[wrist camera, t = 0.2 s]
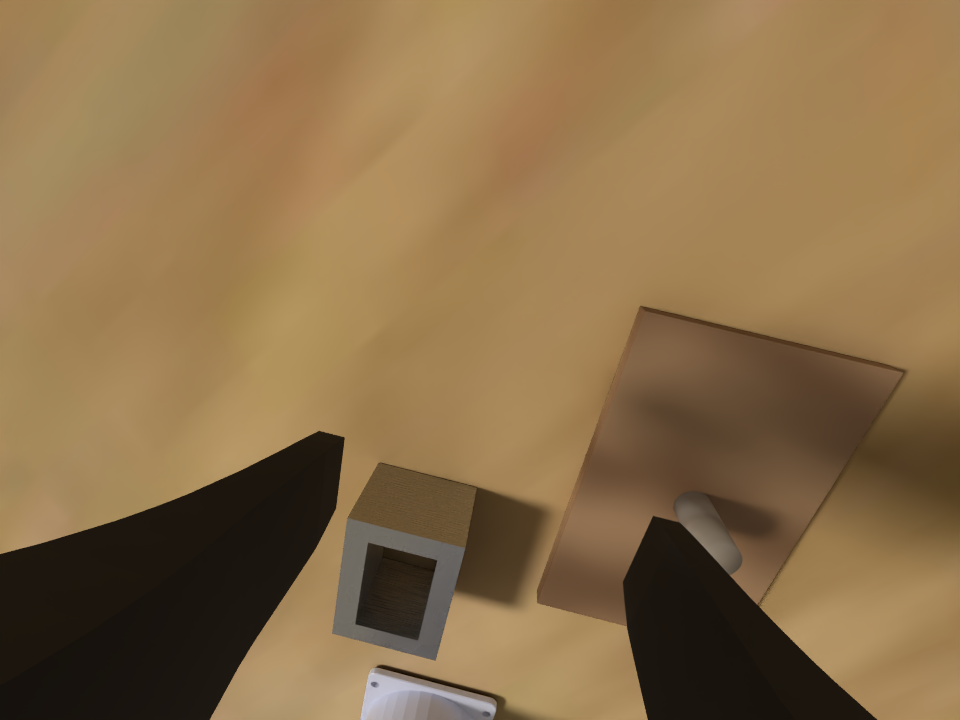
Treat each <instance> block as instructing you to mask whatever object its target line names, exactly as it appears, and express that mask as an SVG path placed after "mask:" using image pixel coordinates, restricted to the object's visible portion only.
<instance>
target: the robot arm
mask: <svg viewBox="0 0 960 720" xmlns="http://www.w3.org/2000/svg"><path fill="white" fill-rule="evenodd" d="M344 439H345V437H341V436H337V435H333V434H329V433H325V432H321V431H318V432H316V433H314V434H312V435H310V436H308V437H306V438H304V439H302V440H300V441H298V442H296V443H294V444H292V445H291V446H289V447H287V448H285V449H283V450H281V451H279V452H277V453H275V454H273V455H271V456H269V457H267V458H265V459H263V460H261V461H259V462H257V463H255V464H253V465H251V466H249V467H247V468H245V469H243V470H241V471H239V472H237V473H234V474H232V475H230V476H228V477H225V478H223V479H221V480H219V481H216V482H214V483H212V484H210V485H207V486H205V487H203V488H201V489H199V490H196V491H194V492H192V493H189V494H187V495H185V496H182V497H180V498H177V499H175V500H172V501H169V502H167V503H164V504H162V505H159V506H156V507H154V508H151V509H148V510H145V511H143V512H140V513H137V514H134V515H131V516H129V517H126V518H123V519H120V520H117V521H114V522H111V523H107V524H104V525H101V526H97V527H94V528H91V529H88V530H84V531H81V532H78V533H74V534H71V535H68V536H65V537H61V538H58V539H55V540H51V541H48V542H45V543H41V544H37V545H34V546H30V547H26V548H22V549H18V550H15V551H11V552H7V553H3V554H0V720H210V718H211V716H212V714H213V713H214V711H215V709H216V707H217V705H218V703H219V702H220V700H221V698H222V696H223V694H224V693H225V691H226V689H227V687H228V685H229V683H230V682H231V680H232V678H233V676H234V674H235V672H236V671H237V669H238V667H239V665H240V664H241V662H242V660H243V659H244V657H245V655H246V654H247V652H248V651H249V649H250V647H251V646H252V644H253V642H254V641H255V639H256V638H257V636H258V635H259V633H260V632H261V630H262V629H263V627H264V626H265V624H266V623H267V621H268V620H269V618H270V617H271V615H272V614H273V612H274V611H275V609H276V608H277V606H278V605H279V603H280V602H281V600H282V599H283V597H284V596H285V594H286V593H287V591H288V590H289V588H290V587H291V585H292V584H293V582H294V581H295V579H296V578H297V576H298V575H299V573H300V572H301V570H302V569H303V567H304V566H305V564H306V563H307V561H308V559H309V558H310V556H311V555H312V553H313V552H314V550H315V549H316V547H317V545H318V543H319V541H320V539H321V537H322V535H323V533H324V531H325V529H326V527H327V525H328V523H329V521H330V519H331V517H332V515H333V513H334V511H335V509H336V504H337V496H338V488H339V480H340V472H341V463H342V455H343V447H344ZM623 591H624V603H625V612H626V621H627V629H628V634H629V639H630V643H631V648H632V652H633V657H634V661H635V666H636V670H637V675H638V679H639V683H640V688H641V692H642V696H643V701H644V705H645V709H646V714H647V718H648V720H877V719H876V718H875V717H873V716H872V715H871V714H870V713H869V712H868V711H867V710H866V709H865V708H863V707H862V706H861V705H860V704H859V703H858V702H857V701H856V700H855V699H853V698H852V697H851V696H850V695H849V694H848V693H847V692H846V691H845V690H843V689H842V688H841V687H840V686H839V685H838V684H837V683H836V682H835V681H833V680H832V679H831V678H830V677H829V676H828V675H827V674H826V673H825V672H824V671H823V670H822V669H821V668H820V667H818V666H817V665H816V664H815V663H814V662H813V661H812V660H811V659H810V658H809V657H808V656H807V655H806V654H805V653H804V652H803V651H802V650H801V649H800V648H799V647H798V646H797V645H796V644H795V643H794V642H793V641H792V640H791V639H790V638H789V637H788V636H787V635H786V634H785V633H784V632H783V631H782V630H781V629H780V628H779V627H778V626H777V625H776V624H775V623H774V622H773V621H772V620H771V619H770V618H769V617H768V616H767V615H766V614H765V613H764V612H763V610H762V609H761V608H760V607H759V606H758V605H757V604H756V603H755V602H754V601H753V600H752V599H751V598H750V597H749V596H748V595H747V593H746V592H745V591H744V590H743V589H742V588H741V587H740V586H739V585H738V584H737V583H736V582H735V580H734V579H733V578H732V577H731V576H730V575H729V574H728V573H727V572H726V571H725V570H724V568H723V567H722V566H721V565H720V564H719V563H718V562H717V561H716V560H715V559H714V558H713V556H712V555H711V554H710V553H709V552H708V551H707V550H706V549H705V548H704V547H703V546H702V545H701V543H700V542H699V541H698V540H697V539H696V538H695V537H694V536H693V535H692V534H691V533H690V532H689V531H688V530H687V529H686V528H685V527H684V526H683V525H682V524H681V523H680V522H676V521H672V520H668V519H664V518H660V517H656V516H653V517H652V519H651V521H650V524H649V526H648V528H647V530H646V532H645V534H644V537H643V539H642V541H641V543H640V545H639V548H638V550H637V552H636V554H635V556H634V559H633V561H632V563H631V565H630V567H629V569H628V572H627V574H626V576H625V578H624V580H623ZM496 708H497V702H496V701H495V700H494V699H493V698H491V697H487V696H483V695H479V694H476V693H472V692H468V691H464V690H460V689H457V688H453V687H449V686H445V685H441V684H438V683H434V682H430V681H426V680H423V679H419V678H415V677H411V676H407V675H404V674H400V673H396V672H392V671H388V670H385V669H381V668H373V669H371V670H370V673H369V676H368V680H367V686H366V691H365V697H364V702H363V708H362V713H361V718H360V720H493V718H494V715H495V713H496Z"/></svg>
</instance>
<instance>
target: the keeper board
mask: <svg viewBox="0 0 960 720" xmlns="http://www.w3.org/2000/svg"><path fill="white" fill-rule="evenodd" d="M902 375H903V372H901V371H899V370H897V369H895V368H892V367H890V366H888V365H885V364H881V363H876V362H872V361H868V360H864V359H860V358H855V357H851V356H847V355H843V354H839V353H834V352H830V351H826V350H822V349H818V348H814V347H809V346H805V345H801V344H797V343H793V342H788V341H784V340H780V339H776V338H772V337H768V336H763V335H759V334H755V333H751V332H747V331H742V330H738V329H734V328H730V327H726V326H721V325H717V324H713V323H709V322H705V321H701V320H696V319H692V318H688V317H684V316H680V315H675V314H671V313H667V312H663V311H659V310H655V309H650V308H646V307H642V306H640V308H639V311H638V314H637V317H636V319H635V322H634V325H633V328H632V330H631V333H630V336H629V339H628V341H627V344H626V347H625V350H624V352H623V355H622V358H621V361H620V363H619V366H618V369H617V372H616V374H615V377H614V380H613V383H612V385H611V388H610V391H609V394H608V396H607V399H606V402H605V405H604V407H603V410H602V413H601V416H600V418H599V421H598V424H597V427H596V429H595V432H594V435H593V438H592V440H591V443H590V446H589V449H588V451H587V454H586V457H585V460H584V463H583V465H582V468H581V471H580V474H579V476H578V479H577V482H576V485H575V487H574V490H573V493H572V496H571V498H570V501H569V504H568V507H567V509H566V512H565V515H564V518H563V520H562V523H561V526H560V529H559V531H558V534H557V537H556V540H555V542H554V545H553V548H552V551H551V553H550V556H549V559H548V562H547V564H546V567H545V570H544V573H543V575H542V578H541V581H540V584H539V586H538V589H537V603H539V604H542V605H546V606H550V607H554V608H558V609H562V610H566V611H570V612H573V613H577V614H581V615H585V616H589V617H593V618H597V619H601V620H604V621H608V622H612V623H616V624H620V625H624V626H627V621H626V612H625V603H624V591H623V580H624V578H625V576H626V574H627V572H628V569H629V567H630V565H631V563H632V561H633V559H634V556H635V554H636V552H637V550H638V548H639V545H640V543H641V541H642V539H643V537H644V534H645V532H646V530H647V528H648V526H649V524H650V521H651V519H652V517H653V516H656V517H660V518H664V519H668V520H672V521H676V522H680V523H681V524H682V525H683V526H684V527H685V528H686V529H687V530H688V531H689V532H690V533H691V534H692V535H693V536H694V537H695V538H696V539H697V540H698V541H699V542H700V543H701V545H702V546H703V547H704V548H705V549H706V550H707V551H708V552H709V553H710V554H711V555H712V556H713V558H714V559H715V560H716V561H717V562H718V563H719V564H720V565H721V566H722V567H723V568H724V570H725V571H726V572H727V573H728V574H729V575H730V576H731V577H732V578H733V579H734V580H735V582H736V583H737V584H738V585H739V586H740V587H741V588H742V589H743V590H744V591H745V592H746V593H747V595H748V596H749V597H750V598H751V599H752V600H753V601H754V602H755V603H756V604H757V605H758V603H759V601H760V600H761V598H762V597H763V595H764V593H765V592H766V590H767V589H768V587H769V586H770V584H771V582H772V581H773V579H774V578H775V576H776V574H777V573H778V571H779V570H780V568H781V566H782V565H783V563H784V562H785V560H786V559H787V557H788V555H789V554H790V552H791V551H792V549H793V547H794V546H795V544H796V543H797V541H798V540H799V538H800V536H801V535H802V533H803V532H804V530H805V528H806V527H807V525H808V524H809V522H810V521H811V519H812V517H813V516H814V514H815V513H816V511H817V509H818V508H819V506H820V505H821V503H822V501H823V500H824V498H825V497H826V495H827V494H828V492H829V490H830V489H831V487H832V486H833V484H834V482H835V481H836V479H837V478H838V476H839V475H840V473H841V471H842V470H843V468H844V467H845V465H846V463H847V462H848V460H849V459H850V457H851V456H852V454H853V452H854V451H855V449H856V448H857V446H858V444H859V443H860V441H861V440H862V438H863V436H864V435H865V433H866V432H867V430H868V429H869V427H870V425H871V424H872V422H873V421H874V419H875V417H876V416H877V414H878V413H879V411H880V410H881V408H882V406H883V405H884V403H885V402H886V400H887V398H888V397H889V395H890V394H891V392H892V390H893V389H894V387H895V386H896V384H897V383H898V381H899V379H900V378H901V376H902Z"/></svg>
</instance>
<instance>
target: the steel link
mask: <svg viewBox="0 0 960 720" xmlns="http://www.w3.org/2000/svg"><path fill="white" fill-rule="evenodd" d="M476 490H477V487H473V486H469V485H465V484H461V483H457V482H453V481H449V480H445V479H441V478H437V477H433V476H429V475H426V474H422V473H418V472H414V471H410V470H406V469H402V468H398V467H394V466H390V465H386V464H382V463H378V465H377V467H376V469H375V470H374V472H373V474H372V476H371V477H370V479H369V481H368V483H367V484H366V486H365V488H364V490H363V491H362V493H361V495H360V497H359V498H358V500H357V502H356V504H355V505H354V507H353V509H352V511H351V513H350V514H349V516H348V518H347V525H346V532H345V540H344V548H343V555H342V563H341V570H340V578H339V586H338V593H337V601H336V609H335V616H334V624H333V632H332V634H336V635H340V636H344V637H348V638H351V639H355V640H359V641H363V642H367V643H370V644H374V645H378V646H382V647H386V648H389V649H393V650H397V651H401V652H405V653H408V654H412V655H416V656H420V657H424V658H427V659H431V660H435V661H436V657H437V653H438V649H439V646H440V642H441V638H442V634H443V631H444V627H445V623H446V619H447V616H448V612H449V608H450V604H451V601H452V597H453V593H454V589H455V586H456V582H457V578H458V574H459V571H460V567H461V563H462V559H463V556H464V552H465V548H466V543H467V537H468V532H469V527H470V521H471V516H472V511H473V506H474V500H475V495H476ZM384 547H388V548H392V549H396V550H399V551H403V552H407V553H411V554H415V555H419V556H423V557H427V558H431V559H434V560H437V564H436V568H435V571H433V570H429V569H425V568H421V567H417V566H413V565H409V564H405V563H402V562H398V561H394V560H390V559H386V558H383V552H384Z"/></svg>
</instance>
